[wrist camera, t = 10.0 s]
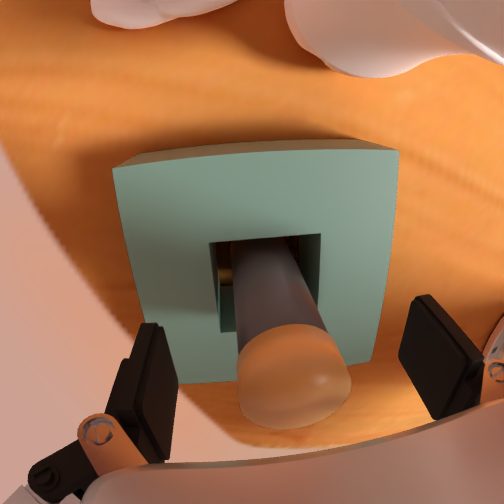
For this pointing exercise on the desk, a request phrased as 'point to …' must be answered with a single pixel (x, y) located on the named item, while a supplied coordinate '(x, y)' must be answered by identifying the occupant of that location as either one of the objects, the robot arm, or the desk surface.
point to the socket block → (258, 226)
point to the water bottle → (395, 32)
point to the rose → (150, 11)
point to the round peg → (282, 341)
